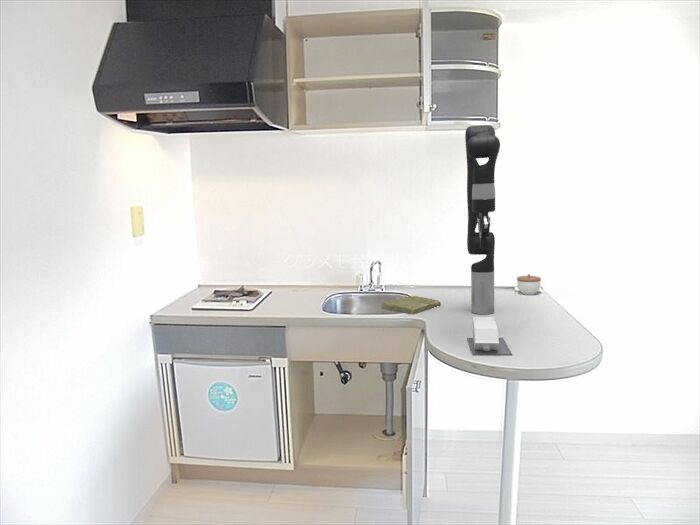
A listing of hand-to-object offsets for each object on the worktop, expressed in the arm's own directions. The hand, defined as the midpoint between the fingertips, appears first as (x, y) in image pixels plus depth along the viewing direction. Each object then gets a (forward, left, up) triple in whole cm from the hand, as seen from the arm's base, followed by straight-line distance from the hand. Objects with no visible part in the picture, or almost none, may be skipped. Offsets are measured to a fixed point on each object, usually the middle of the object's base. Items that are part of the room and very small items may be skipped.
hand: (483, 248), depth 174 cm
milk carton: (+1, -1, -27) cm, 27 cm away
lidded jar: (-72, +30, -31) cm, 84 cm away
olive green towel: (-46, -26, -32) cm, 62 cm away
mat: (+11, 0, -31) cm, 33 cm away
